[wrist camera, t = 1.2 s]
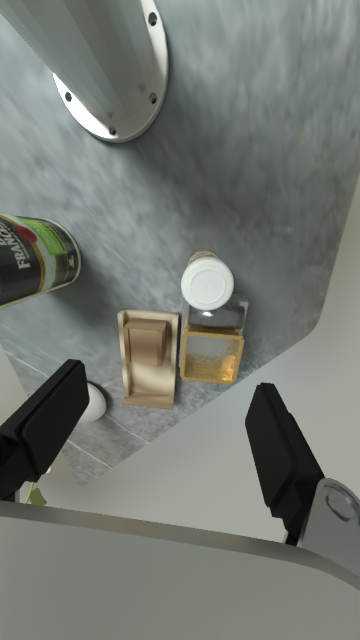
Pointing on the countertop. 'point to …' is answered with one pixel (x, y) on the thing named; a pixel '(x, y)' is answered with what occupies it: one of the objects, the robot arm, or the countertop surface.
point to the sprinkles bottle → (206, 281)
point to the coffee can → (34, 258)
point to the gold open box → (212, 341)
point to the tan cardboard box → (145, 341)
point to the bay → (150, 365)
